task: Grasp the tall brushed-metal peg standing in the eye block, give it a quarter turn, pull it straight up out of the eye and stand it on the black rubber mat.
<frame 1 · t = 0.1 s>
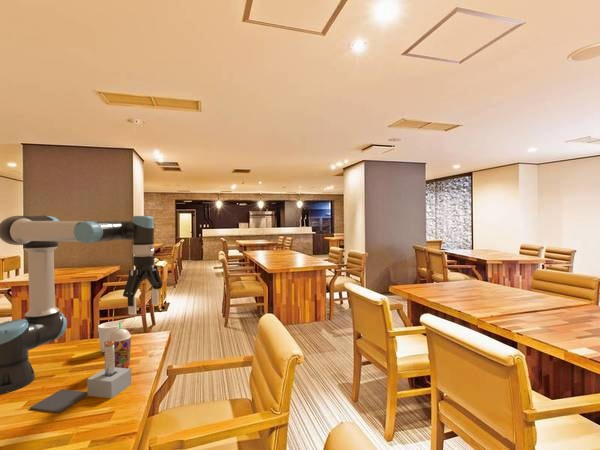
hand: (144, 309, 129), 28 cm above the table, fingers open, 13 cm apart
eye block: (110, 389, 123), on the table
smoothie: (120, 370, 139), on the table
mat: (60, 401, 115), on the table
peg: (109, 365, 122), in the eye block
cup: (110, 351, 158), on the table
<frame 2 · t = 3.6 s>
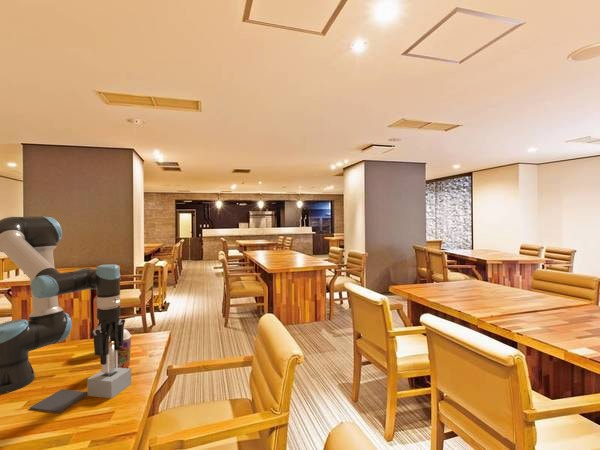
hand: (109, 369, 122), 8 cm above the table, fingers closed on peg, 3 cm apart
peg: (109, 365, 122), in the eye block, touching gripper
everything else where it was.
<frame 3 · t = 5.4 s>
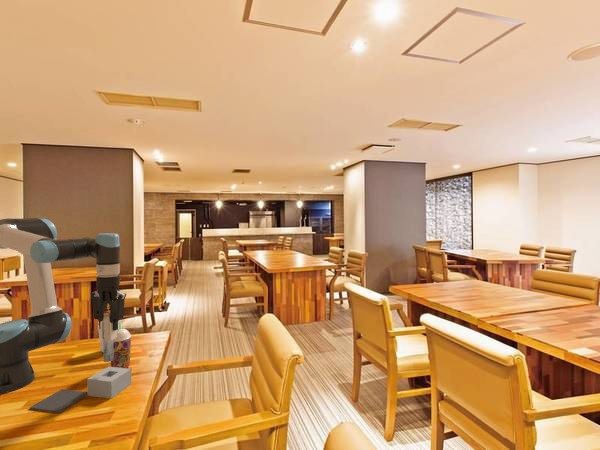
hand: (108, 338, 122), 19 cm above the table, fingers closed on peg, 3 cm apart
peg: (108, 336, 122), point 20 cm above the table, touching gripper
everything else where it was.
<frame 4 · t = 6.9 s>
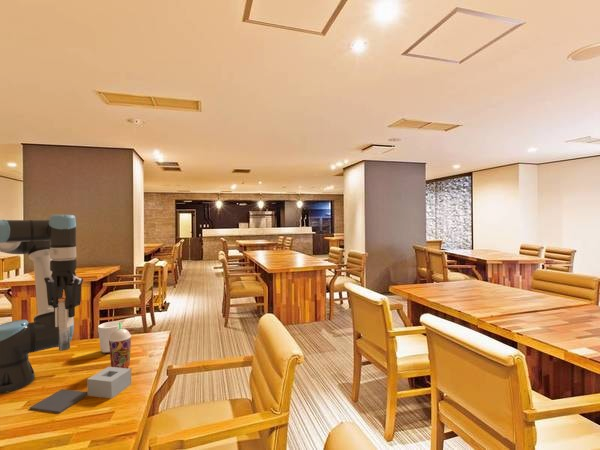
hand: (64, 325, 115), 26 cm above the table, fingers closed on peg, 3 cm apart
peg: (64, 323, 115), point 27 cm above the table, touching gripper
everything else where it was.
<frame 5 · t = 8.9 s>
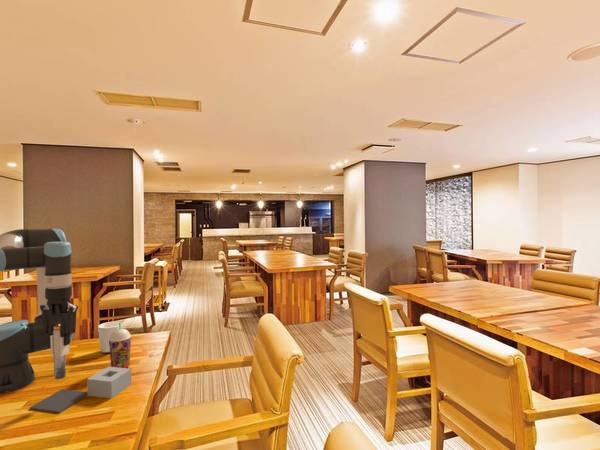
hand: (60, 353, 115), 17 cm above the table, fingers closed on peg, 3 cm apart
peg: (59, 351, 114), point 18 cm above the table, touching gripper
everything else where it was.
when the fingers open (9 cm above the table, at t = 10.6 s): peg stays where it is, resting on mat.
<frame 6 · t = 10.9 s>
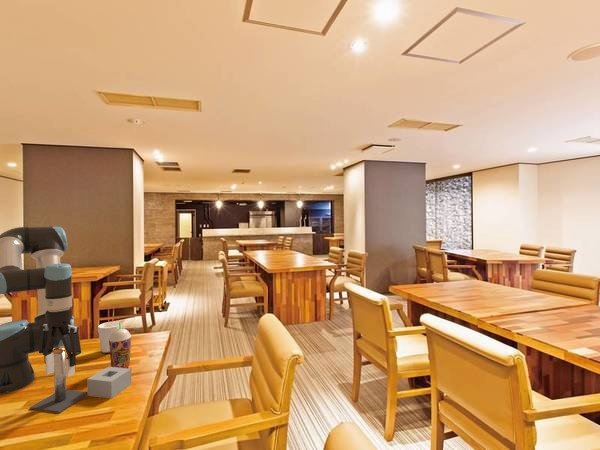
hand: (60, 374, 115), 10 cm above the table, fingers open, 8 cm apart
peg: (59, 374, 115), on the mat, point 10 cm above the table
everything else where it was.
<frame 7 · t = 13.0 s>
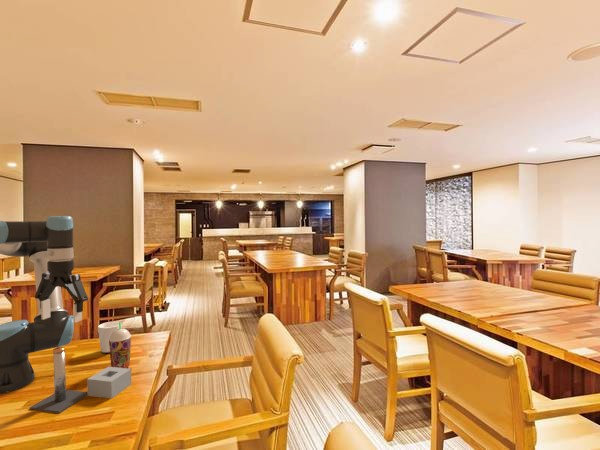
hand: (61, 319, 117), 28 cm above the table, fingers open, 13 cm apart
nothing on the table moved.
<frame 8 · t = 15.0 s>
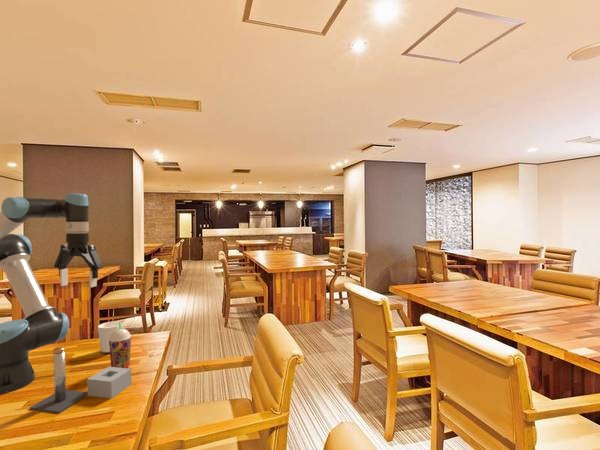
hand: (78, 286, 131), 37 cm above the table, fingers open, 13 cm apart
nothing on the table moved.
at the end: peg inside the target area on the mat (0.2 cm from its centre), point 9.6 cm above the mat's base; peg tilted 0°; the gripper is holding nothing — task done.
